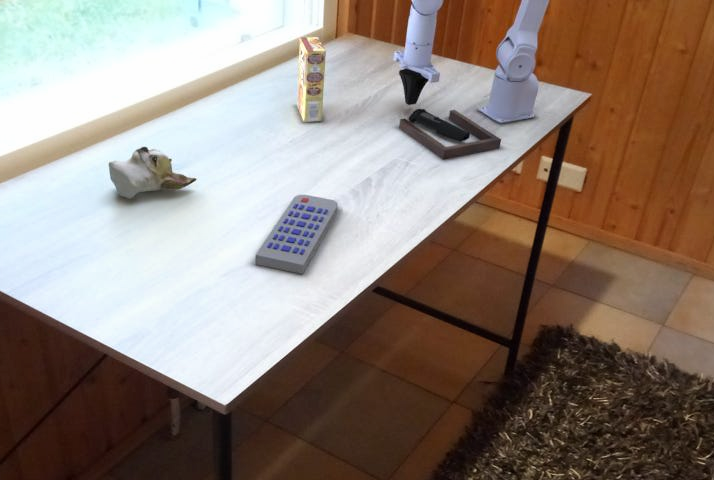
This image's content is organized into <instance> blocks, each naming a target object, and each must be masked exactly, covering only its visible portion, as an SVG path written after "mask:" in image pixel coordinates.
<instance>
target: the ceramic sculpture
mask: <svg viewBox="0 0 714 480" xmlns="http://www.w3.org/2000/svg"><path fill="white" fill-rule="evenodd" d="M172 161H173V160H172V158H169V156H168V155H166V154H165V153H164V152H163V151H161V150H158V149H155V148H151V149H149V148H148V147H147V146H142V147H140V148H136V149H135V150H134V152H132V155H131V157H130V158H129V159H127V160H122V161H119V160H113V161H109V162H108V170H109V171H108V172H109V177H110V180H111V182H112V184H113V185H114V187H115V189H116V192H117V193H118V194H119V196H121V197H122V198H124V199H125V198H126V199H128V200H131V199H133V198H134V197H135V196H136V195H137V194H138V193H142V192H155V191H160V190H168V191H178V190H181V189H183V188H186V187H188V186H190V185H191V184H193V183H194V182H196V181H197V178H195V177H188V176H187V175H185V174H181V173H176V172H174V171H173V167H172V166H173V165H172Z"/></svg>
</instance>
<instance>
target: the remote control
mask: <svg viewBox="0 0 714 480" xmlns="http://www.w3.org/2000/svg"><path fill="white" fill-rule="evenodd" d="M338 206H339V205H338V202H337V201H336V200H334V199H330V198H325V197H320V196H315V195H308V194H297V195H296V196H294V197H293V198H292V200H291V201H290V203H289V205H288V206H287V207H286V209H285V210H284V212H283V213H282V215H281V216H280V218H279V219H278V221H277V222H276V224H275V225H274V226H273V228H272V230H271V231H270V232H269V234H268V236H267V237H266V239H265V240H264V242H263V243H262V245H261V246H260V247H259V249H258V251H257V252H256V254H255V259H254V261H255V262H254V264H255V265H257V266H262V267H266V268H267V267H268V268H271V269H277V270H280V271H281V270H282V271H286V272H291V273H295V274H300V275H304V272H305V271H306V269H307V268H308V265H309V264H310V262H311V260H312V258H313V257H314V255H315V253H316V252H317V249H318V248H319V246H320V244H321V243H322V241H323V239H324V237H325V236H326V234H327V233H328V230H329V229H330V226H331V225H332V223H333V221H334V220H335V218H336V216H337V214H338V208H339V207H338Z"/></svg>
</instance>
